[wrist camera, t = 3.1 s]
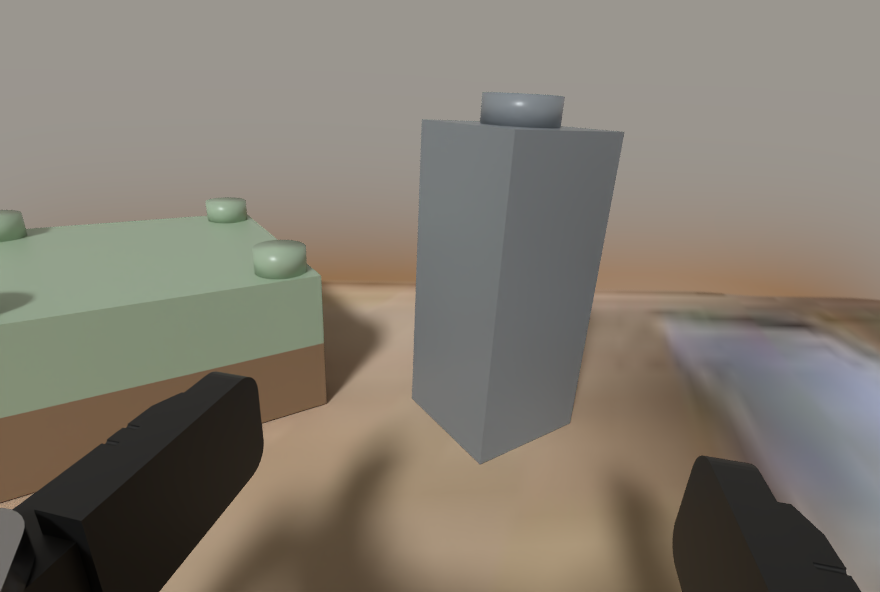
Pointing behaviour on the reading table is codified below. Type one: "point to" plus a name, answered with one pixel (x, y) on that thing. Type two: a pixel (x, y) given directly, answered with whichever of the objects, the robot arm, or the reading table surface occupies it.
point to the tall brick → (507, 268)
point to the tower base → (144, 328)
